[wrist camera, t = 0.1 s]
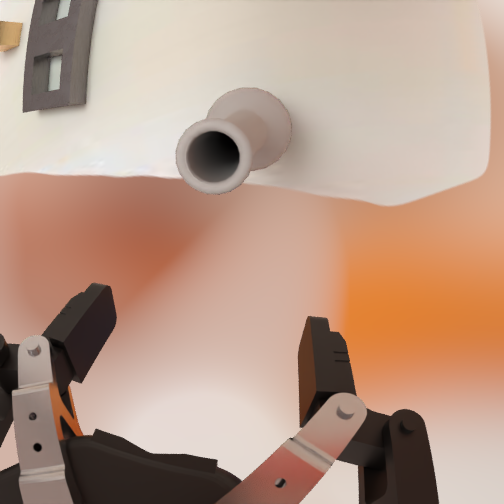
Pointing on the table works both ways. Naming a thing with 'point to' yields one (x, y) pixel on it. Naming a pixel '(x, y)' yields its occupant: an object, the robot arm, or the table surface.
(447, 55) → the table surface
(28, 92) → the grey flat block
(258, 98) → the bottle
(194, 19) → the table surface
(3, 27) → the brass peg
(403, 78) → the table surface
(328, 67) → the table surface
